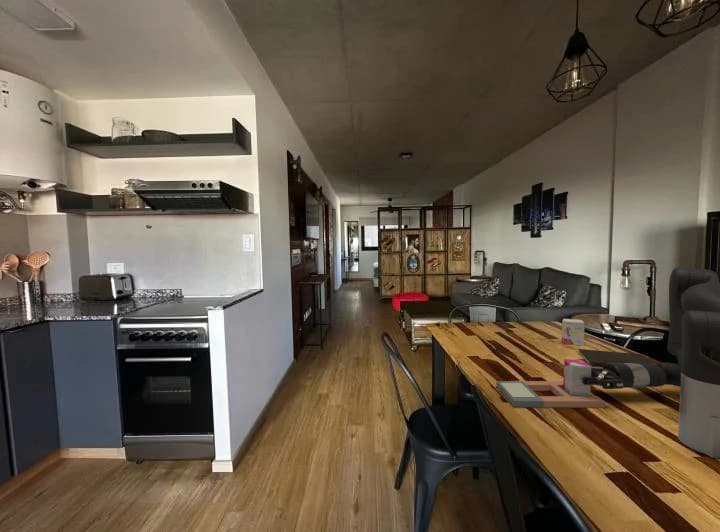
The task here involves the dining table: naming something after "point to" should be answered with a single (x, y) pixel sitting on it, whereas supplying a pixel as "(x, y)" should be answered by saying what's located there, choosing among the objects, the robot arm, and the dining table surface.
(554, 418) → the dining table surface
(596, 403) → the board
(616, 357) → the hardcover book
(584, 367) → the supplement box
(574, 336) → the ink box
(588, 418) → the dining table surface
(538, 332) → the dining table surface
